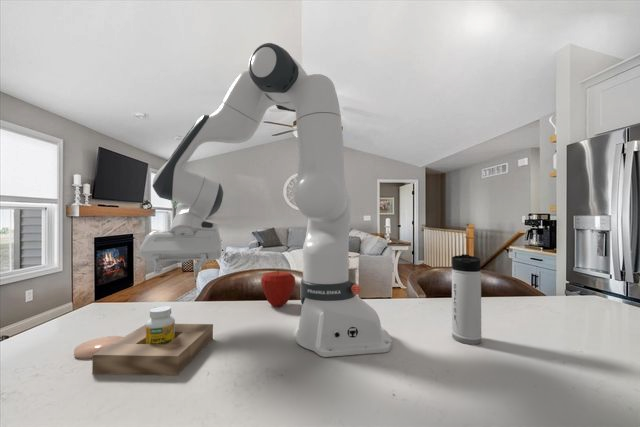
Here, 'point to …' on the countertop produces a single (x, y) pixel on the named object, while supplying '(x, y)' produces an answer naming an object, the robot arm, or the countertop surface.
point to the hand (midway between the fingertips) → (177, 271)
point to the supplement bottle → (160, 326)
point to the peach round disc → (94, 346)
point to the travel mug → (466, 299)
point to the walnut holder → (153, 352)
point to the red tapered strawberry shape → (278, 287)
